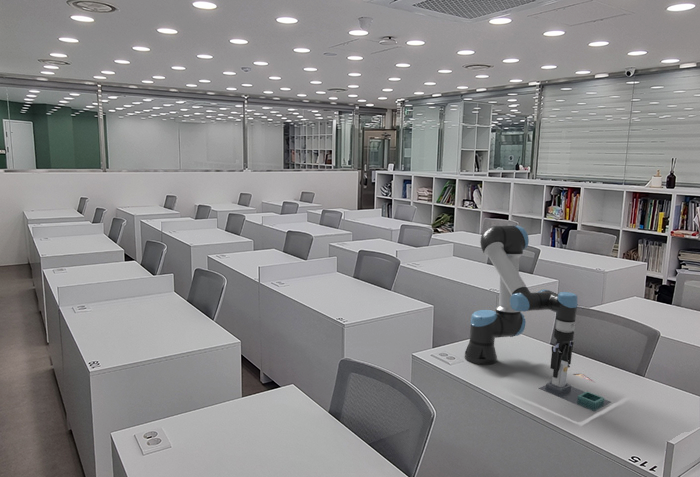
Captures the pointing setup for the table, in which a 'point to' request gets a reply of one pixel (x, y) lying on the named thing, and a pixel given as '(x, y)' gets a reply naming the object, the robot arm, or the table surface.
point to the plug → (562, 374)
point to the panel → (576, 396)
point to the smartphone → (583, 376)
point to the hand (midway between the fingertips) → (558, 382)
